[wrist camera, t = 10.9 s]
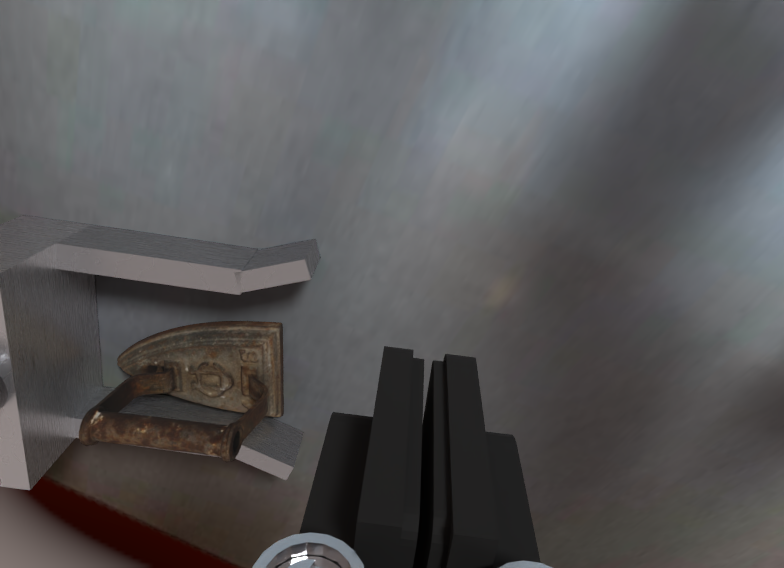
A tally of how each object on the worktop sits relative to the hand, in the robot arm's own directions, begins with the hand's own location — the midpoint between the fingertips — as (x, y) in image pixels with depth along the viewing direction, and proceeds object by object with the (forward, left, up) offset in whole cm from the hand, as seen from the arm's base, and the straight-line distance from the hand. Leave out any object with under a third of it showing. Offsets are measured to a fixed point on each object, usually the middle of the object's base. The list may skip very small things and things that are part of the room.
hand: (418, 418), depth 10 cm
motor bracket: (+14, +12, -23) cm, 29 cm away
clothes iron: (+12, +14, -23) cm, 30 cm away
